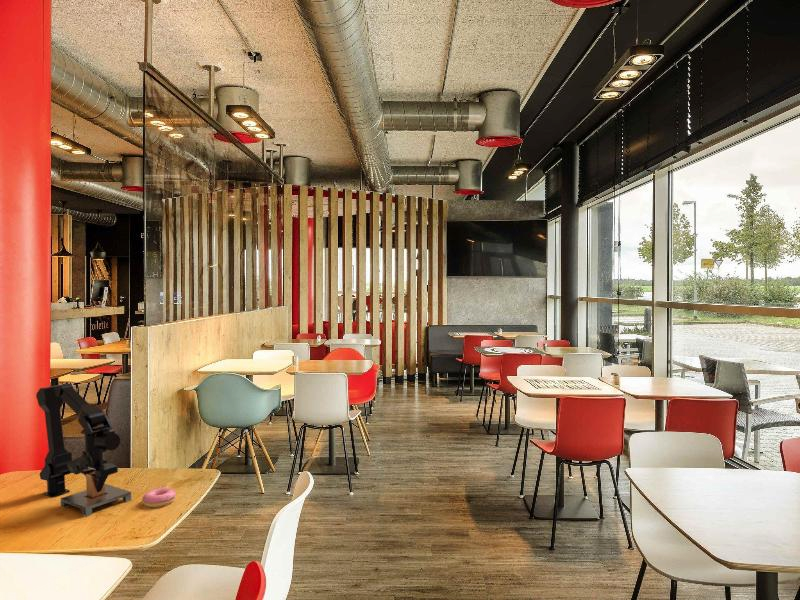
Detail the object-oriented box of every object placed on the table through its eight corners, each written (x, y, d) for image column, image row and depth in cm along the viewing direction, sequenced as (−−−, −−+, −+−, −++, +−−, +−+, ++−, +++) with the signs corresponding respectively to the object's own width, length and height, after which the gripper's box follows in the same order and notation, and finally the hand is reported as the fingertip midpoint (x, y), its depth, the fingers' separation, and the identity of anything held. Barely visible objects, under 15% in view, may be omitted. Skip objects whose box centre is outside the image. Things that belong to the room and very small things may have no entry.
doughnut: (180, 496, 204) (180, 484, 204) (170, 508, 193) (169, 496, 193) (149, 497, 204) (149, 486, 204) (137, 509, 193) (136, 497, 193)
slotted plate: (60, 506, 196) (60, 498, 196) (105, 491, 210) (105, 483, 210) (86, 516, 188) (85, 507, 187) (131, 500, 201) (130, 491, 201)
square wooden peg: (87, 500, 198) (86, 473, 197) (99, 496, 201) (98, 469, 201) (92, 502, 196) (91, 475, 195) (105, 498, 200) (104, 471, 199)
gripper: (56, 449, 196) (58, 493, 197) (85, 457, 186) (87, 503, 187) (88, 440, 206) (89, 483, 206) (118, 448, 196) (119, 492, 196)
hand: (95, 490), depth 198 cm, fingers closed on square wooden peg, 3 cm apart
